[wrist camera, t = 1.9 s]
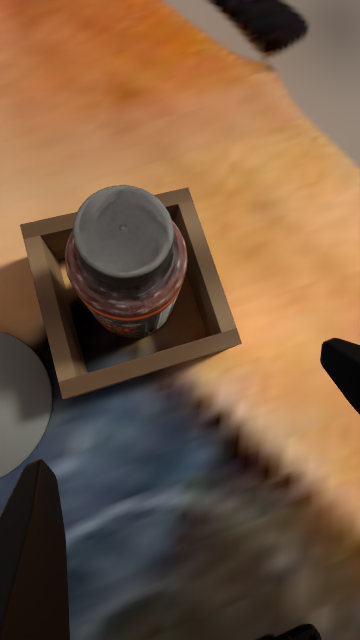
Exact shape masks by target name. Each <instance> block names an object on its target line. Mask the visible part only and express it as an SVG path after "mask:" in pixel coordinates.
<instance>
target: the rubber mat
mask: <svg viewBox="0 0 360 640" xmlns="http://www.w3.org/2000/svg"><path fill="white" fill-rule="evenodd" d="M52 402H53V397H52V386H51V381H50V378H49V375H48V372H47V370H46V368H45V366H44V364H43V362H42V361H41V359H40V358H39V356H38V355H37V354H36V353H35V352H34V351H33V350H32V349H31V348H30V347H29V346H28V345H26V344H25V343H24V342H22V341H20V340H19V339H17V338H15V337H13V336H10V335H8V334H5V333H1V332H0V477H2V476H4V475H6V474H7V473H9V472H10V471H12V470H13V469H15V468H16V467H17V466H19V465H20V464H21V463H22V462H23V461H24V460H25V459H26V458H28V456H29V455H30V454H31V453H32V452H33V451H34V449H35V448H36V447H37V445H38V444H39V442H40V441H41V439H42V437H43V435H44V433H45V431H46V428H47V426H48V423H49V420H50V416H51V411H52Z"/></svg>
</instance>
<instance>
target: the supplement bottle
mask: <svg viewBox="0 0 360 640" xmlns="http://www.w3.org/2000/svg"><path fill="white" fill-rule="evenodd" d="M65 264H66V271H67V275H68V277H69V280H70V282H71V284H72V286H73V288H74V290H75V291H76V293H77V294H78V295H79V297H80V298H81V300H82V301H83V302H84V304H85V305H86V306H87V307H88V309H89V310H90V311H91V313H92V314H93V315H94V317H95V318H96V319H97V321H98V322H99V323H100V324H101V325H102V326H103V327H104V328H105V329H107V330H108V331H109V332H111V333H113V334H115V335H118V336H121V337H125V338H140V337H144V336H148V335H150V334H152V333H154V332H155V331H156V330H158V329H159V328H160V327H161V326H162V325H163V324H164V323H165V322H166V320H167V319H168V317H169V316H170V314H171V312H172V309H173V306H174V304H175V301H176V299H177V296H178V294H179V291H180V289H181V286H182V284H183V281H184V278H185V274H186V268H187V250H186V245H185V241H184V239H183V236H182V235H181V232H180V230H179V229H178V227H177V226H176V225H175V223H174V222H173V221H172V220H171V217H170V214H169V212H168V211H167V209H166V208H165V206H164V205H163V203H162V202H161V201H160V200H159V199H158V198H157V197H155V196H154V195H153V194H151V193H149V192H147V191H146V190H144V189H141V188H137V187H134V186H128V185H120V186H112V187H107V188H104V189H102V190H99V191H98V192H96V193H94V194H93V195H91V196H90V197H89V198H87V199H86V201H85V202H84V203H83V204H82V205H81V207H80V208H79V210H78V212H77V214H76V217H75V220H74V224H73V230H72V231H71V234H70V236H69V239H68V241H67V246H66V251H65Z"/></svg>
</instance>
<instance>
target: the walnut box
mask: <svg viewBox="0 0 360 640" xmlns="http://www.w3.org/2000/svg"><path fill="white" fill-rule="evenodd" d="M154 196H155V197H157V198H158V199H159V200H160V201H161V202H162V203H163V205H164V206H165V208H166V209H167V211H168V212H169V214H170V217H171V220H172V221H173V222H174V223H175V225H176V226H177V227H178V229H179V230H180V232H181V235H182V236H183V239H184V241H185V245H186V250H187V268H186V272H187V275H188V278H189V281H190V284H191V287H192V290H193V293H194V296H195V300H196V303H197V306H198V309H199V312H200V315H201V318H202V321H203V324H204V327H205V330H206V333H207V336H208V337H206V338H202V339H199V340H196V341H192V342H189V343H186V344H182V345H179V346H176V347H173V348H169V349H166V350H163V351H159V352H156V353H153V354H149V355H146V356H143V357H140V358H136V359H133V360H130V361H126V362H123V363H120V364H116V365H113V366H110V367H106V368H103V369H100V370H97V371H93V372H90V373H87V369H86V366H85V362H84V358H83V354H82V350H81V346H80V343H79V339H78V335H77V331H76V327H75V323H74V319H73V316H72V312H71V308H70V304H69V300H68V296H67V293H66V289H65V285H64V281H63V277H62V273H61V270H60V266H59V262H58V260H60V259H64V258H65V251H66V246H67V241H68V239H69V236H70V234H71V231H72V230H73V224H74V220H75V217H76V214H77V212H75V213H71V214H66V215H62V216H57V217H52V218H48V219H43V220H39V221H34V222H30V223H25V224H21V225H20V227H21V231H22V235H23V239H24V243H25V247H26V251H27V255H28V259H29V264H30V268H31V272H32V276H33V280H34V284H35V288H36V292H37V296H38V300H39V304H40V309H41V313H42V317H43V321H44V325H45V329H46V333H47V337H48V341H49V345H50V349H51V354H52V358H53V362H54V366H55V370H56V374H57V378H58V382H59V386H60V390H61V394H62V399H66V398H71V397H76V396H80V395H83V394H86V393H89V392H93V391H96V390H99V389H102V388H105V387H109V386H112V385H115V384H118V383H121V382H125V381H128V380H131V379H134V378H137V377H141V376H144V375H147V374H150V373H153V372H157V371H160V370H163V369H166V368H170V367H173V366H176V365H179V364H182V363H186V362H189V361H192V360H195V359H198V358H202V357H205V356H208V355H211V354H214V353H218V352H221V351H224V350H227V349H229V348H232V347H234V346H237V345H239V344H242V343H241V340H240V337H239V334H238V331H237V328H236V325H235V322H234V319H233V316H232V314H231V311H230V308H229V305H228V302H227V299H226V296H225V293H224V290H223V287H222V284H221V282H220V279H219V276H218V273H217V270H216V267H215V264H214V261H213V258H212V255H211V253H210V250H209V247H208V244H207V241H206V238H205V235H204V232H203V229H202V226H201V223H200V221H199V218H198V215H197V212H196V209H195V206H194V203H193V200H192V197H191V194H190V192H189V189H188V188H184V189H179V190H175V191H170V192H166V193H161V194H157V195H154Z"/></svg>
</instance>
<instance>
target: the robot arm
mask: <svg viewBox="0 0 360 640" xmlns="http://www.w3.org/2000/svg"><path fill="white" fill-rule="evenodd" d="M320 361H321V365H322V366H323V368H324V369H325V371H326V372H327V373H328V375H329V376H330V377H331V379H332V380H333V381H334V383H335V384H336V385H337V387H338V388H339V389H340V391H341V392H342V393H343V395H344V396H345V398H346V399H347V400H348V401H349V403H350V404H351V405H352V406H353V407H354V409H355V410H356V411H357V412H358V413H359V414H360V345H357V344H354V343H351V342H348V341H345V340H342V339H339V338H332V339H329V340H327V341H324V342H323V344H322V349H321V358H320ZM311 633H313V636H312V637H311V638H309V635H310V634H311ZM0 640H70V631H69V606H68V582H67V557H66V538H65V530H64V523H63V516H62V510H61V503H60V497H59V490H58V484H57V479H56V476H55V474H54V472H53V471H52V470H51V469H50V468H49V466H48V465H47V464H46V463H45V462H44V461H43V460H41V459H39V460H37V461H34V462H32V463H29V464H27V465H26V466H25V468H24V469H23V471H22V473H21V475H20V477H19V479H18V481H17V483H16V486H15V488H14V490H13V492H12V494H11V496H10V498H9V500H8V502H7V504H6V506H5V508H4V510H3V512H2V514H1V516H0ZM275 640H321V637H320V634H319V632H318V631H317V629H316V628H315V626H313V625H312V624H307V625H305V626H303V627H300V628H298V629H296V630H294V631H292V632H290V633H288V634H286V635H284V636H282V637H280V638H278V639H275Z"/></svg>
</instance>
